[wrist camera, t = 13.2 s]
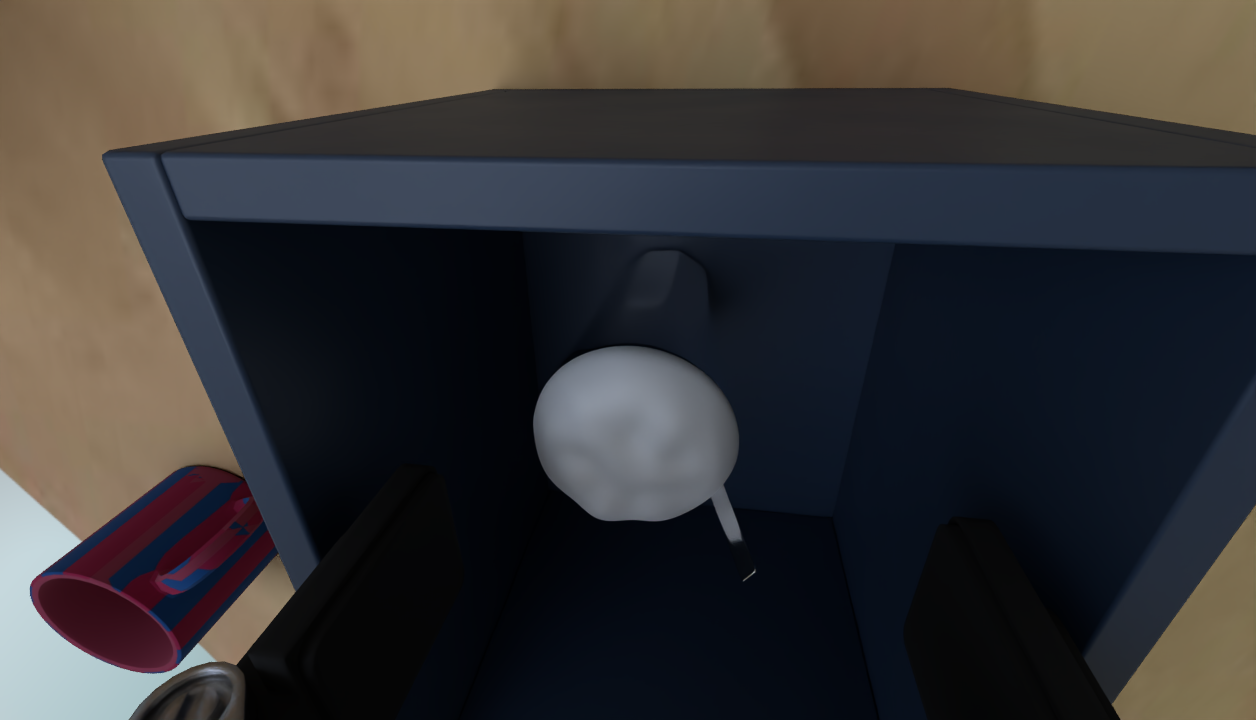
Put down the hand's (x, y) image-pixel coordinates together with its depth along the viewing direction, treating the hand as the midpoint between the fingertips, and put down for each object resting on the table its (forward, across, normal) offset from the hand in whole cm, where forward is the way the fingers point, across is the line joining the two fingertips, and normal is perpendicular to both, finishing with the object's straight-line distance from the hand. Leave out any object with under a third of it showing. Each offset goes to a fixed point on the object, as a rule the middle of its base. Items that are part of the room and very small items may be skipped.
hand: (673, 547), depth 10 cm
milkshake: (+11, +1, -1) cm, 11 cm away
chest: (+11, 0, +1) cm, 11 cm away
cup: (+11, +23, +12) cm, 29 cm away
